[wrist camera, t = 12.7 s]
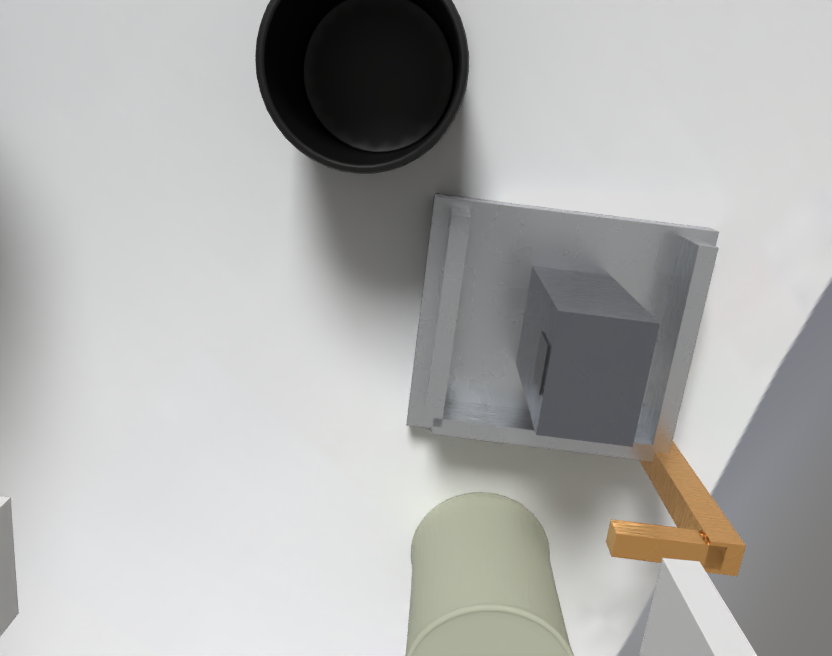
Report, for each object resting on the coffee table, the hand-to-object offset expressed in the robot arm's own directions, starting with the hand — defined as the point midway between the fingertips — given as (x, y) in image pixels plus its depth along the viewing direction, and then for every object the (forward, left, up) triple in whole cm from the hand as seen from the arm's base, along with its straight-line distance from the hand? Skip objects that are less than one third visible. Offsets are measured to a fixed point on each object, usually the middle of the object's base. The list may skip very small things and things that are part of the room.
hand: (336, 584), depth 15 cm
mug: (-2, +12, -30) cm, 33 cm away
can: (+7, -18, -30) cm, 36 cm away
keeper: (+9, -2, -30) cm, 31 cm away
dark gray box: (+9, -1, -29) cm, 30 cm away
